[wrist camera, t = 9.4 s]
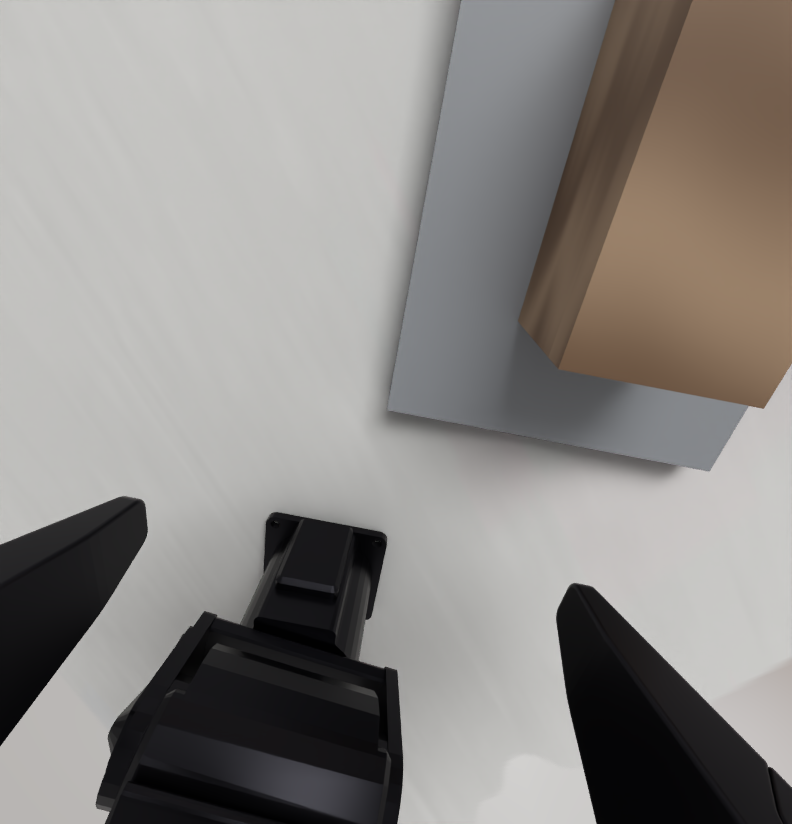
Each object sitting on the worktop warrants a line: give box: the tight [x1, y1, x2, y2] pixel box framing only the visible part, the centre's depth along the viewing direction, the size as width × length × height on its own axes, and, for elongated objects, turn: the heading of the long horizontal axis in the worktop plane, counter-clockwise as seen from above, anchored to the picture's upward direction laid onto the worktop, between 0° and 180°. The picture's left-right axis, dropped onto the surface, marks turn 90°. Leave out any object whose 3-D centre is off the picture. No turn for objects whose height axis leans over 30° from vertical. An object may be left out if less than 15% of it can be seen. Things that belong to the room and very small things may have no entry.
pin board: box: [387, 0, 748, 471], centre depth 12 cm, size 20×14×5 cm
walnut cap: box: [518, 0, 792, 409], centre depth 11 cm, size 11×5×6 cm, turn 170°
